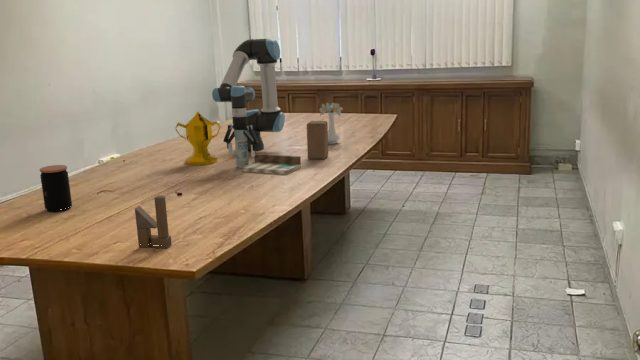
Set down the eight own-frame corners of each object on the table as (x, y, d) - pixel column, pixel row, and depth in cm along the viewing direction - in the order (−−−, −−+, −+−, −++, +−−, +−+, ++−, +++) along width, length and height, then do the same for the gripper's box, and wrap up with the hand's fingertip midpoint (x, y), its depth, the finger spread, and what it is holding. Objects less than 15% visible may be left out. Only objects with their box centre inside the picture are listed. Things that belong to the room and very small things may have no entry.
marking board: (241, 171, 328) (241, 159, 327) (256, 164, 343) (256, 153, 341) (287, 174, 318) (286, 162, 317) (300, 167, 332) (300, 156, 331)
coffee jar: (50, 206, 275) (44, 165, 271) (75, 204, 276) (70, 164, 272) (41, 213, 265) (35, 171, 261) (68, 212, 266) (62, 170, 262)
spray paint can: (239, 168, 335) (236, 130, 330) (234, 166, 340) (232, 129, 335) (250, 166, 337) (248, 129, 332) (246, 164, 343) (244, 127, 338)
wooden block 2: (143, 244, 224) (137, 194, 220) (172, 245, 222) (167, 195, 218) (138, 247, 221) (133, 197, 216) (167, 248, 219) (163, 198, 215)
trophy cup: (176, 161, 358) (172, 111, 351) (219, 156, 366) (216, 107, 359) (181, 167, 342) (176, 115, 335) (226, 162, 350) (222, 111, 343)
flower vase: (345, 140, 403) (344, 100, 396) (338, 145, 385) (337, 104, 379) (325, 139, 406) (324, 100, 400) (317, 145, 389) (316, 104, 383)
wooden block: (325, 159, 349) (324, 123, 344) (307, 159, 351) (306, 123, 346) (328, 155, 359) (327, 120, 354) (311, 155, 361) (310, 120, 356)
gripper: (215, 116, 334) (218, 156, 339) (257, 117, 324) (259, 158, 329) (222, 114, 340) (225, 153, 346) (264, 115, 331) (266, 155, 336)
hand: (242, 156), depth 337 cm, fingers open, 13 cm apart
